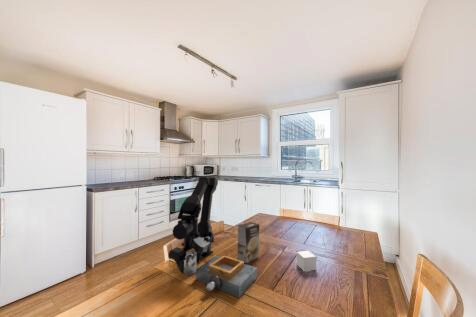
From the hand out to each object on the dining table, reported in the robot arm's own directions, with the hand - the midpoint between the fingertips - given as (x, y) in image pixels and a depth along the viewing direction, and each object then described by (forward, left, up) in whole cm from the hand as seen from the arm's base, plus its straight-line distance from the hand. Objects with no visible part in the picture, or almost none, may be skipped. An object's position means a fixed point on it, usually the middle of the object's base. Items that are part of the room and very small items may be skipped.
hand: (190, 267), depth 84 cm
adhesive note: (-30, +41, -2) cm, 51 cm away
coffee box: (-24, +15, -2) cm, 28 cm away
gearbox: (-2, +16, -2) cm, 16 cm away
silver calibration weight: (0, 0, -2) cm, 2 cm away
